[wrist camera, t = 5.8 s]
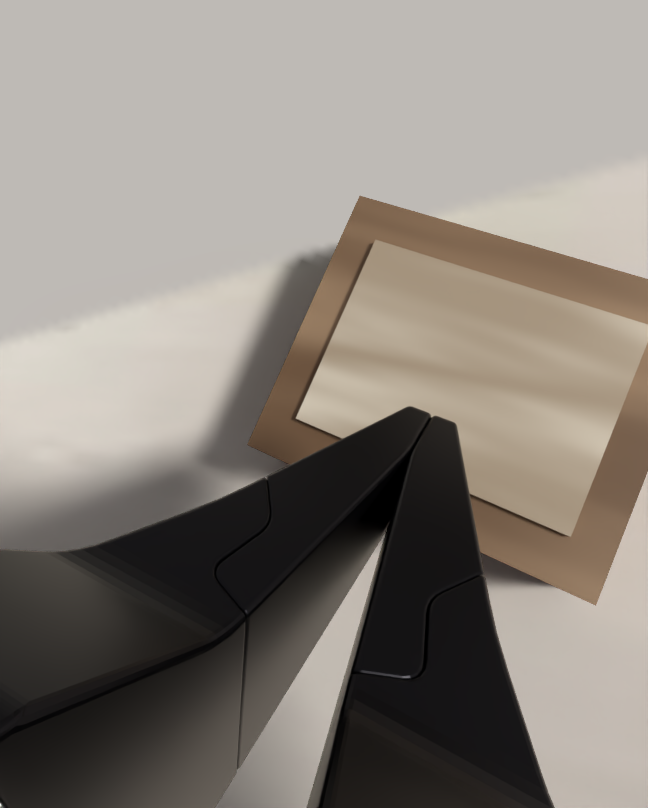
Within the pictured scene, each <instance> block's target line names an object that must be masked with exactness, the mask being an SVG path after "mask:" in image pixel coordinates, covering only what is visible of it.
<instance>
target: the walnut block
mask: <svg viewBox="0 0 648 808" xmlns="http://www.w3.org/2000/svg"><path fill="white" fill-rule="evenodd" d="M408 406H412V407H415V408H418V409H420V410H423V411H426V412H428V413H430V414H431V418H432V417H433V416H439V417H442V418H444V419H447V420H450V421H452V422H454V423H456V425H457V428H458V434H459V439H460V445H461V450H462V455H463V461H464V466H465V472H466V477H467V482H468V488H469V493H470V499H471V504H472V509H473V515H474V520H475V526H476V531H477V536H478V542H479V547H480V552H481V553H483V554H485V555H487V556H490V557H492V558H494V559H496V560H498V561H500V562H503V563H505V564H507V565H509V566H511V567H513V568H516V569H518V570H520V571H522V572H524V573H527V574H529V575H531V576H533V577H535V578H537V579H540V580H542V581H544V582H546V583H548V584H550V585H553V586H555V587H557V588H559V589H561V590H563V591H566V592H568V593H570V594H572V595H574V596H576V597H579V598H581V599H583V600H585V601H587V602H589V603H592V604H594V605H596V604H597V601H598V598H599V596H600V593H601V591H602V588H603V586H604V583H605V580H606V578H607V575H608V573H609V570H610V567H611V565H612V562H613V560H614V557H615V554H616V552H617V549H618V547H619V544H620V542H621V539H622V536H623V534H624V531H625V529H626V526H627V523H628V521H629V518H630V516H631V513H632V511H633V508H634V505H635V503H636V500H637V498H638V495H639V492H640V490H641V487H642V485H643V482H644V479H645V477H646V474H647V472H648V279H645V278H642V277H638V276H635V275H631V274H628V273H625V272H621V271H618V270H614V269H611V268H607V267H604V266H600V265H597V264H594V263H590V262H587V261H583V260H580V259H576V258H573V257H569V256H566V255H562V254H559V253H556V252H552V251H549V250H545V249H542V248H538V247H535V246H531V245H528V244H525V243H521V242H518V241H514V240H511V239H507V238H504V237H500V236H497V235H493V234H490V233H487V232H483V231H480V230H476V229H473V228H469V227H466V226H462V225H459V224H456V223H452V222H449V221H445V220H442V219H438V218H435V217H431V216H428V215H424V214H421V213H418V212H414V211H411V210H407V209H404V208H400V207H397V206H393V205H390V204H387V203H383V202H379V201H376V200H373V199H369V198H366V197H362V196H359V199H358V201H357V203H356V205H355V207H354V210H353V212H352V214H351V216H350V218H349V221H348V223H347V225H346V227H345V229H344V232H343V234H342V236H341V238H340V241H339V243H338V245H337V247H336V249H335V252H334V254H333V256H332V258H331V260H330V263H329V265H328V267H327V269H326V272H325V274H324V276H323V278H322V280H321V283H320V285H319V287H318V289H317V291H316V294H315V296H314V298H313V300H312V303H311V305H310V307H309V309H308V311H307V314H306V316H305V318H304V320H303V322H302V325H301V327H300V329H299V331H298V333H297V336H296V338H295V340H294V342H293V345H292V347H291V349H290V351H289V353H288V356H287V358H286V360H285V362H284V364H283V367H282V369H281V371H280V373H279V376H278V378H277V380H276V382H275V384H274V387H273V389H272V391H271V393H270V395H269V398H268V400H267V402H266V404H265V406H264V409H263V411H262V413H261V415H260V418H259V420H258V422H257V424H256V426H255V429H254V431H253V433H252V435H251V437H250V440H249V442H248V444H247V445H248V446H251V447H253V448H255V449H257V450H259V451H262V452H264V453H266V454H268V455H270V456H272V457H275V458H277V459H279V460H281V461H283V462H285V463H288V464H290V465H291V464H293V463H295V462H297V461H299V460H301V459H303V458H305V457H307V456H309V455H311V454H313V453H315V452H317V451H319V450H321V449H323V448H325V447H327V446H329V445H331V444H333V443H335V442H337V441H339V440H341V439H343V438H345V437H347V436H349V435H351V434H353V433H355V432H357V431H359V430H361V429H363V428H365V427H367V426H369V425H371V424H373V423H375V422H377V421H379V420H381V419H383V418H385V417H387V416H389V415H391V414H393V413H395V412H397V411H399V410H401V409H403V408H405V407H408Z"/></svg>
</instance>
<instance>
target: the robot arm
mask: <svg viewBox="0 0 648 808" xmlns="http://www.w3.org/2000/svg"><path fill="white" fill-rule="evenodd" d="M387 527H388V528H387ZM386 529H387V531H386ZM385 531H386V534H385V538H384V541H383V544H382V548H381V551H380V555H379V558H378V561H377V565H376V568H375V572H374V575H373V579H372V582H371V586H370V589H369V593H368V596H367V600H366V603H365V607H364V610H363V614H362V617H361V620H360V624H359V627H358V631H357V634H356V638H355V641H354V645H353V648H352V652H351V655H350V659H349V662H348V666H347V669H346V673H345V676H344V679H343V683H342V686H341V690H340V693H339V697H338V700H337V704H336V707H335V711H334V714H333V718H332V721H331V725H330V728H329V732H328V735H327V738H326V742H325V745H324V749H323V752H322V756H321V759H320V763H319V766H318V770H317V773H316V777H315V780H314V784H313V787H312V791H311V794H310V797H309V801H308V804H307V808H554V805H553V803H552V800H551V798H550V796H549V793H548V790H547V787H546V785H545V782H544V779H543V776H542V773H541V770H540V767H539V764H538V761H537V758H536V755H535V752H534V749H533V746H532V742H531V739H530V736H529V733H528V730H527V727H526V724H525V721H524V718H523V715H522V712H521V709H520V706H519V703H518V700H517V697H516V693H515V690H514V687H513V684H512V681H511V678H510V675H509V672H508V669H507V665H506V662H505V659H504V655H503V652H502V648H501V645H500V642H499V638H498V635H497V631H496V626H495V622H494V618H493V613H492V609H491V604H490V600H489V594H488V589H487V583H486V579H485V577H484V569H483V563H482V558H481V552H480V547H479V542H478V536H477V531H476V526H475V520H474V515H473V509H472V504H471V499H470V493H469V488H468V482H467V477H466V472H465V466H464V461H463V455H462V450H461V445H460V439H459V434H458V428H457V425H456V423H454V422H452V421H450V420H447V419H444V418H442V417H439V416H433V417H432V418H431V414H430V413H428V412H426V411H423V410H420V409H418V408H415V407H412V406H408V407H405V408H403V409H401V410H399V411H397V412H395V413H393V414H391V415H389V416H387V417H385V418H383V419H381V420H379V421H377V422H375V423H373V424H371V425H369V426H367V427H365V428H363V429H361V430H359V431H357V432H355V433H353V434H351V435H349V436H347V437H345V438H343V439H341V440H339V441H337V442H335V443H333V444H331V445H329V446H327V447H325V448H323V449H321V450H319V451H317V452H315V453H313V454H311V455H309V456H307V457H305V458H303V459H301V460H299V461H297V462H295V463H293V464H291V465H289V466H286V467H284V468H282V469H280V470H278V471H276V472H274V473H272V474H270V475H268V476H267V479H266V478H262V479H260V480H258V481H256V482H254V483H252V484H250V485H248V486H246V487H244V488H241V489H239V490H237V491H235V492H233V493H231V494H228V495H226V496H224V497H222V498H220V499H217V500H215V501H212V502H210V503H207V504H205V505H202V506H200V507H197V508H195V509H192V510H190V511H187V512H185V513H182V514H179V515H176V516H174V517H171V518H168V519H165V520H163V521H160V522H157V523H155V524H152V525H149V526H146V527H144V528H141V529H138V530H136V531H133V532H130V533H127V534H125V535H122V536H119V537H116V538H114V539H111V540H108V541H105V542H102V543H99V544H96V545H93V546H88V547H84V548H80V549H74V550H68V551H55V552H45V551H26V550H9V549H0V808H215V807H216V805H217V804H218V802H219V800H220V799H221V797H222V796H223V794H224V792H225V791H226V789H227V787H228V786H229V784H230V783H231V781H232V779H233V778H234V776H235V775H236V772H237V769H239V768H240V766H241V765H242V763H243V761H244V760H245V758H246V757H247V755H248V753H249V752H250V750H251V748H252V747H253V745H254V744H255V742H256V740H257V739H258V737H259V736H260V734H261V732H262V731H263V729H264V727H265V726H266V724H267V723H268V721H269V719H270V718H271V716H272V715H273V713H274V711H275V710H276V708H277V706H278V705H279V703H280V702H281V700H282V698H283V697H284V695H285V694H286V692H287V690H288V689H289V687H290V685H291V684H292V682H293V681H294V679H295V677H296V676H297V674H298V673H299V671H300V669H301V668H302V666H303V664H304V663H305V661H306V660H307V658H308V656H309V655H310V653H311V652H312V650H313V648H314V647H315V645H316V643H317V642H318V640H319V639H320V637H321V635H322V634H323V632H324V631H325V629H326V627H327V626H328V624H329V622H330V621H331V619H332V618H333V616H334V614H335V613H336V611H337V610H338V608H339V606H340V605H341V603H342V601H343V600H344V598H345V597H346V595H347V593H348V592H349V590H350V589H351V587H352V585H353V584H354V582H355V580H356V579H357V577H358V576H359V574H360V572H361V571H362V569H363V568H364V566H365V564H366V563H367V561H368V559H369V558H370V556H371V555H372V553H373V551H374V550H375V548H376V547H377V545H378V543H379V542H380V540H381V538H382V536H383V535H384V533H385Z"/></svg>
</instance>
